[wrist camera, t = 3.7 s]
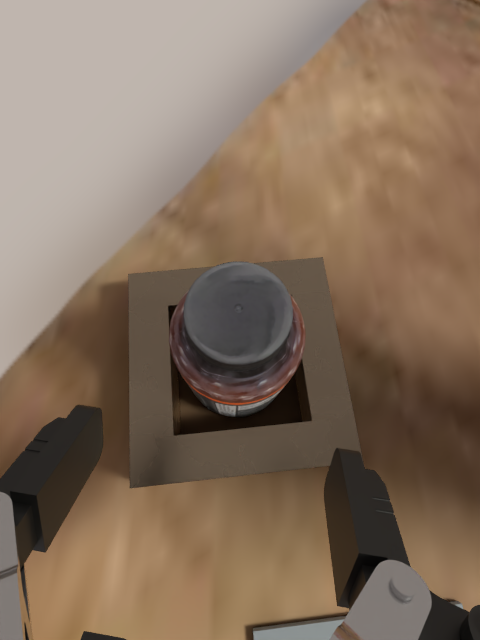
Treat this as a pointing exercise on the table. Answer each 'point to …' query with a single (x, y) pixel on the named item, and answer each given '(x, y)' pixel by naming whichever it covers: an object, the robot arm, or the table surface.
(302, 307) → the socket block
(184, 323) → the supplement bottle
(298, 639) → the slate mat
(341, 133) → the table surface
